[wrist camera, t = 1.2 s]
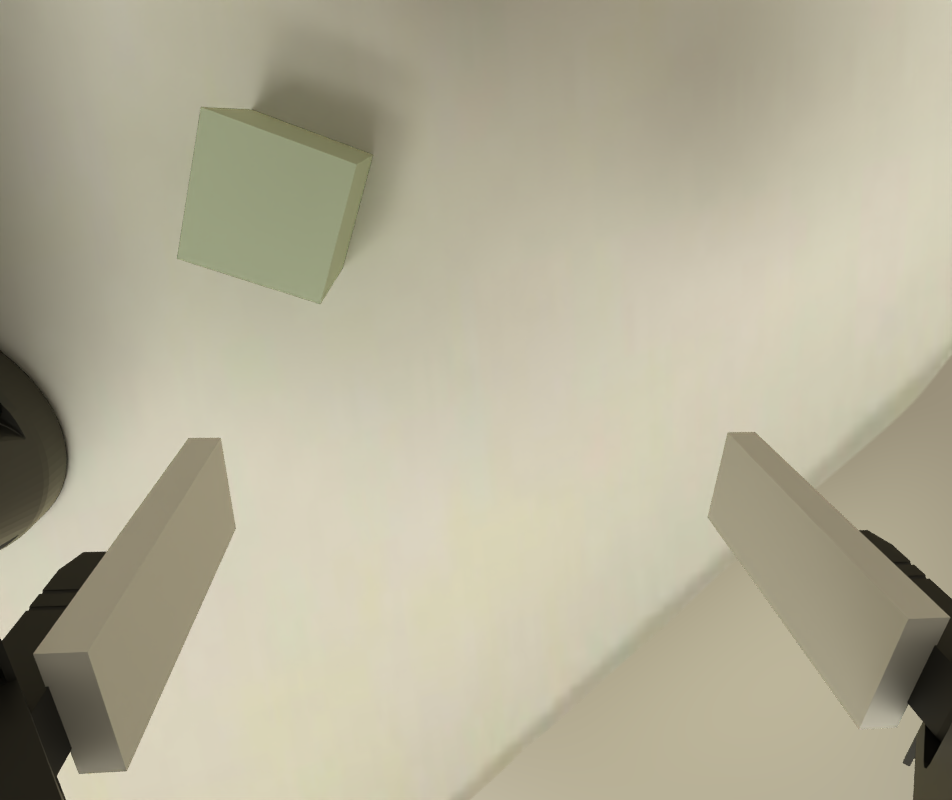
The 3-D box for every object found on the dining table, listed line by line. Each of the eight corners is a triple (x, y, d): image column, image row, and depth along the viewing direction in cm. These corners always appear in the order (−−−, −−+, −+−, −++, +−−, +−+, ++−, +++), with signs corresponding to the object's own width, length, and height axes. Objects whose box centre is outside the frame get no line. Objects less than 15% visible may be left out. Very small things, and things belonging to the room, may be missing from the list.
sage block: (229, 230, 31) (176, 258, 25) (252, 109, 29) (200, 107, 23) (342, 267, 32) (320, 304, 26) (373, 154, 30) (356, 164, 24)
